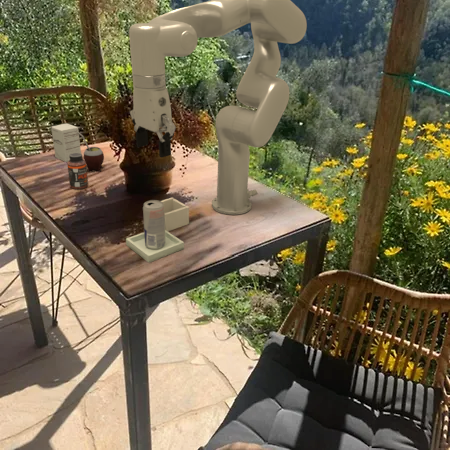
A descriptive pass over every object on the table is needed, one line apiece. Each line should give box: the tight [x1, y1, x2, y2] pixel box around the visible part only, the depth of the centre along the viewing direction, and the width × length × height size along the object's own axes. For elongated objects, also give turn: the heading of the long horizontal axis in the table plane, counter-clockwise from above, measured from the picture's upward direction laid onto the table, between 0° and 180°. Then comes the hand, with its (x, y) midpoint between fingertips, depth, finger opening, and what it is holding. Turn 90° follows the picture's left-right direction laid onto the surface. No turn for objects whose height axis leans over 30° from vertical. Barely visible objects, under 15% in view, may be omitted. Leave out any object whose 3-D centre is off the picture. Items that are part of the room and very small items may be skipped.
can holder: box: [160, 197, 190, 232], centre depth 132 cm, size 8×8×6 cm
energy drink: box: [142, 199, 165, 249], centre depth 118 cm, size 5×5×12 cm
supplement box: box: [51, 123, 82, 163], centre depth 175 cm, size 7×7×13 cm
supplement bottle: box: [66, 153, 89, 190], centre depth 151 cm, size 6×6×11 cm
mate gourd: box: [75, 131, 105, 173], centre depth 164 cm, size 8×8×15 cm
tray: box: [125, 230, 185, 264], centre depth 120 cm, size 11×11×2 cm
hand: (153, 150), depth 114 cm, fingers open, 9 cm apart
